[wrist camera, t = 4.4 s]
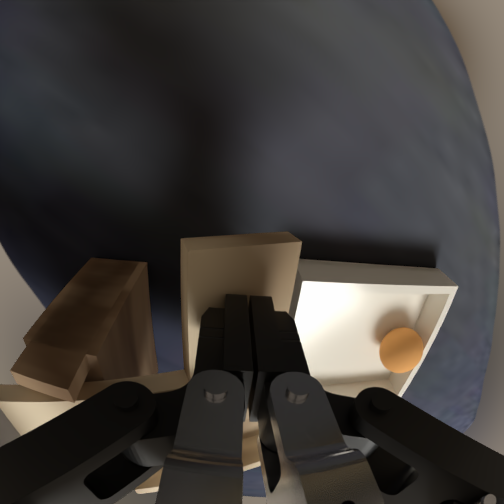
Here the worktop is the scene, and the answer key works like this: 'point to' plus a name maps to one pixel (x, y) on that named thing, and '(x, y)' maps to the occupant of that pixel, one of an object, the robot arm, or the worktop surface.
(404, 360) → the ball
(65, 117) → the worktop surface
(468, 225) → the worktop surface
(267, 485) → the robot arm
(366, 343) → the dish
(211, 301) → the lever
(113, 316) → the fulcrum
